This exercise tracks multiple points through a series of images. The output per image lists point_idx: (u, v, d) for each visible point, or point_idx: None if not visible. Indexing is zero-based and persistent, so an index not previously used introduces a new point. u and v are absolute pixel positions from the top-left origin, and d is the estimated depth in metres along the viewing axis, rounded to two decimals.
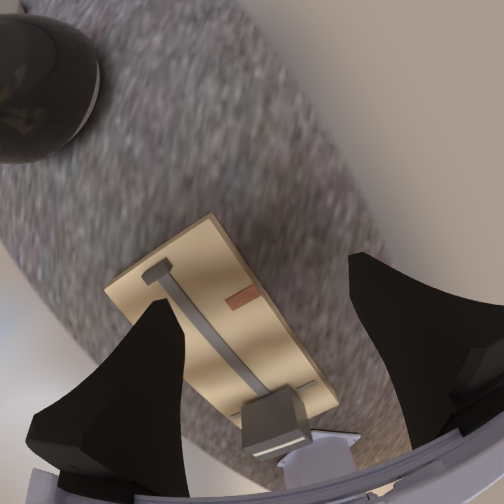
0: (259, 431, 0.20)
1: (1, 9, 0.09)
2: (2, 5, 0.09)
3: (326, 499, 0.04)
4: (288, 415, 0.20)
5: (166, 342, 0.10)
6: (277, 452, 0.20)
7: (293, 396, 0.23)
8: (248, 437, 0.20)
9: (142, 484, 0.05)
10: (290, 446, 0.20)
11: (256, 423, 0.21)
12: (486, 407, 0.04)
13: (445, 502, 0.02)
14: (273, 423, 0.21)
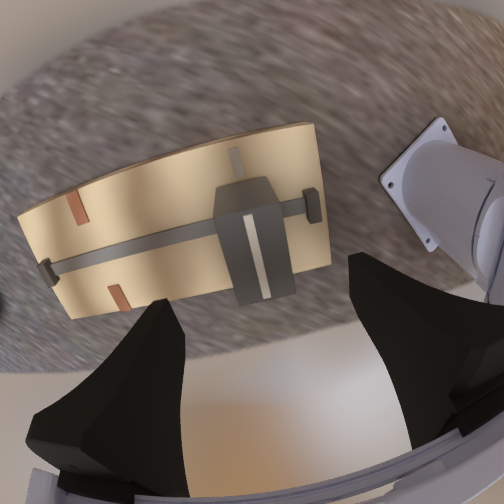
0: None
1: None
2: None
3: (326, 499, 0.04)
4: None
5: (166, 342, 0.10)
6: (278, 264, 0.14)
7: (223, 190, 0.16)
8: None
9: (142, 484, 0.05)
10: (270, 241, 0.13)
11: None
12: (486, 407, 0.04)
13: (445, 502, 0.02)
14: None
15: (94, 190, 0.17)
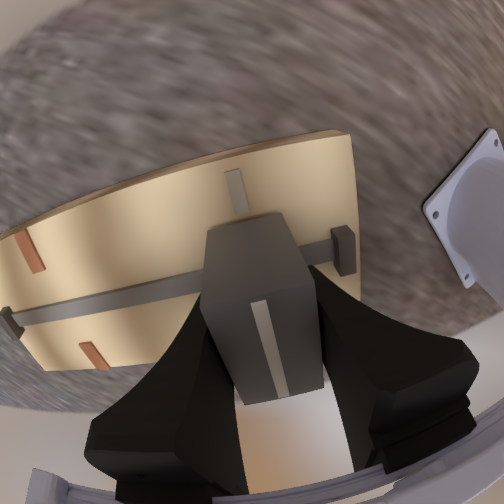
0: None
1: None
2: None
3: (326, 499, 0.04)
4: None
5: None
6: (303, 360, 0.09)
7: (218, 238, 0.11)
8: None
9: (218, 485, 0.05)
10: (293, 335, 0.08)
11: None
12: (415, 446, 0.04)
13: (445, 502, 0.02)
14: None
15: (46, 230, 0.11)
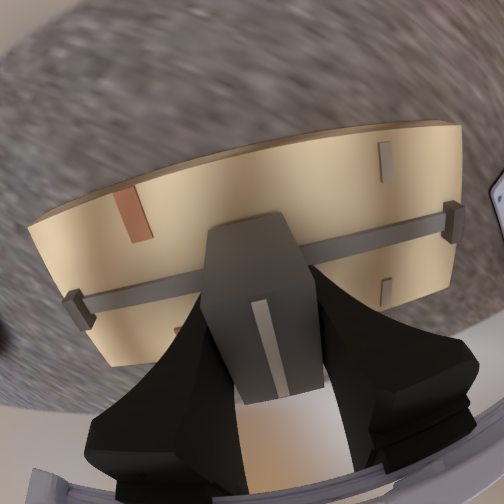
0: None
1: None
2: None
3: (326, 499, 0.04)
4: None
5: None
6: (304, 359, 0.09)
7: (218, 237, 0.11)
8: None
9: (218, 484, 0.05)
10: (293, 334, 0.08)
11: None
12: (415, 446, 0.04)
13: (445, 502, 0.02)
14: None
15: (166, 187, 0.11)
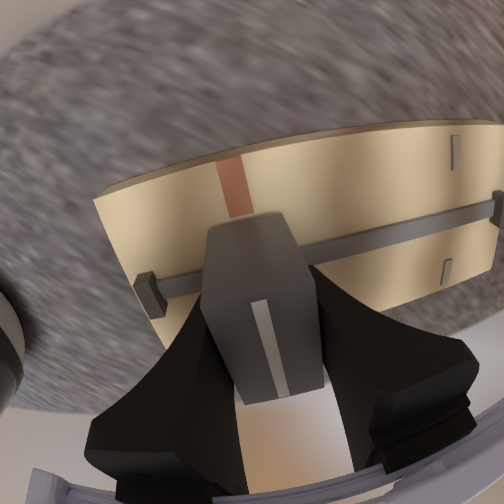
0: None
1: None
2: None
3: (326, 499, 0.04)
4: None
5: None
6: (304, 360, 0.09)
7: (218, 237, 0.11)
8: None
9: (218, 484, 0.05)
10: (293, 334, 0.08)
11: None
12: (415, 447, 0.04)
13: (445, 502, 0.02)
14: None
15: (274, 160, 0.11)
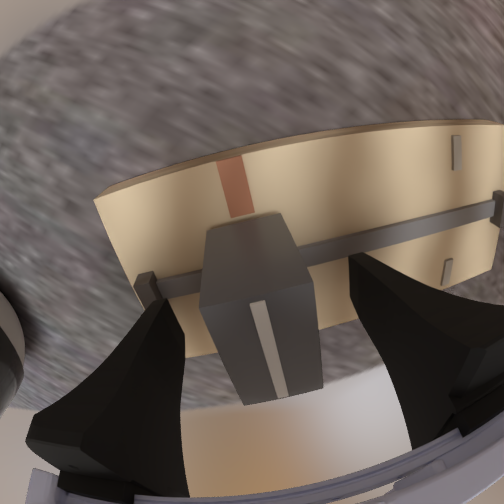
0: None
1: None
2: None
3: (326, 499, 0.04)
4: None
5: (166, 342, 0.10)
6: (303, 360, 0.09)
7: (217, 238, 0.11)
8: None
9: (142, 484, 0.05)
10: (292, 335, 0.08)
11: None
12: (486, 407, 0.04)
13: (445, 502, 0.02)
14: None
15: (275, 160, 0.11)
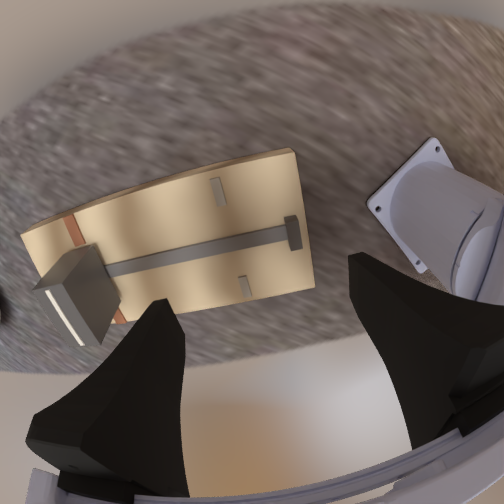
0: None
1: None
2: None
3: (326, 499, 0.04)
4: None
5: (166, 342, 0.10)
6: (78, 323, 0.16)
7: (62, 258, 0.18)
8: None
9: (142, 484, 0.05)
10: (66, 308, 0.15)
11: None
12: (486, 407, 0.04)
13: (445, 502, 0.02)
14: None
15: (88, 215, 0.18)
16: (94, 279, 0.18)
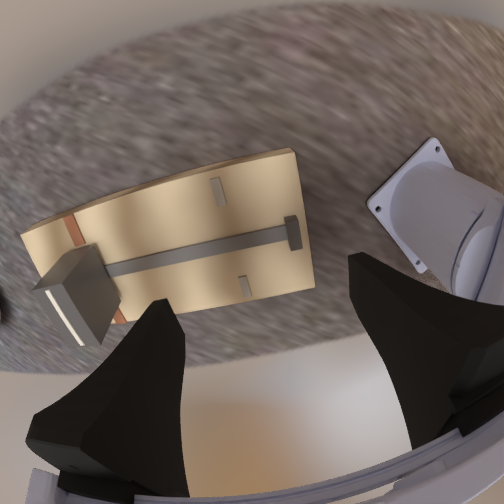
0: None
1: None
2: None
3: (326, 499, 0.04)
4: None
5: (166, 342, 0.10)
6: (78, 323, 0.16)
7: (62, 258, 0.18)
8: None
9: (142, 484, 0.05)
10: (66, 308, 0.15)
11: None
12: (486, 407, 0.04)
13: (445, 502, 0.02)
14: None
15: (88, 215, 0.18)
16: (94, 279, 0.18)
